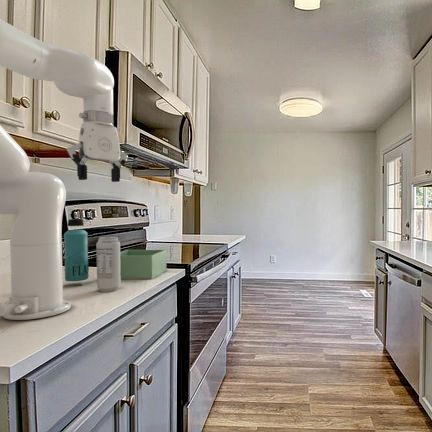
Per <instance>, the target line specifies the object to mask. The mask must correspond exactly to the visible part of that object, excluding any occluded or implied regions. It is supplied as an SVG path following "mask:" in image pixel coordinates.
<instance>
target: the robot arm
mask: <svg viewBox="0 0 432 432" xmlns="http://www.w3.org/2000/svg"><path fill="white" fill-rule="evenodd" d="M0 67H1V68H5V69H7V70H9V71H12V72H14V73H17V74H19V75H21V76H25V77H27V78H29V79H32V80H39V81H46V82H53V83H54V86H55V87H56V88H57V90H58V91H60V92H61V93H63V94H65V95H67V96H70V97H75V98H79V99H82V103H83V104H82V105H83V112H79V114H78V117H79V118H80V119H82V123H81V125H80V129H79V135H78V143H76V144H73V145H70V146H67V147H66V151H67V153H68V155H69V157H70V159H71V160H72V161H73V162H74V164H75V166H76V173H77V178H78V180H79V181H86V180H88V166H87V164H86V163H87V162H88V161H97V162H106V163H107V162H108V163H109V164H110V165H111V167H112V168H110V179H111V183H120V182H121V181H120V180H121V169H122V168H123V167H124V165H125V164H126V161H127V160H128V157H129V155H128V153H125V152H124V151H123V150H121V144H120V138H119V133H118V129H117V127H116V126H114V86H115V79H114V76H113V73H112V72H111V70H110V69H109V68H108V67H107V65H105V64H104V63H103V62H101V61H100V60H98V59H96V58H95V57H93V56H90V55H88V54H86V53H83V52H80V51H77V50H74V49H70V48H66V47H63V46H60V45H56V44H52V43H48V42H45V41H42V40H40V39H38V38H36V37H34V36H33V35H31V34H29V33H27V32H25V31H23V30H21V29H20V28H18V27H16V26H14V25H12V24H10V23H9V22H7V21H4V20H3V19H1V18H0ZM77 150H78V154H77V152H76V151H77ZM30 167H31V162H30V159H29V156H28V155H27V153H26V151H25V150H24V149H23V147H21V146H20V144H19V143H18V142H17V141H16V140H15V139H14V138H13V137H12V135H10V133H8V131H7V130H6V129H5V128H4V127H3V126H2V125H1V124H0V215H18V216H17V218H16V219H15V221H14V223H13V225H12V227H11V230H10V235H9V249H10V287H11V288H10V289H11V296H9V298H8V300H9V301H8V303H7V304H3V305H1V306H0V317H3V318H4V319H7V320H12V321H25V320H26V321H27V320H36V319H42V318H48V317H52V316H56V315H60V314H63V313H66V312H67V311H68V310H70V309H71V307H72V302H70V300H66V299H64V285H63V283H64V281H63V279H64V277H63V238H62V237H63V235H62V231H63V230H62V229H63V228H62V227H63V224H62V223H63V216H64V215H63V214H64V209H65V205H66V201H67V200H66V199H67V190H66V186H65V184H64V182H63V181H62V180H61V179H60V178H59V177H57V176H56V175H54V174H52V173H50V172H49V173H48V172H44V171H43V172H42V171H30Z"/></svg>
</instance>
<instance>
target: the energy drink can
mask: <svg viewBox="0 0 432 432" xmlns="http://www.w3.org/2000/svg"><path fill="white" fill-rule="evenodd" d="M95 244H96V248H95V249H96V288H97V289H98V290H99V292H106V293H108V292H115V291H118V290H119V288H120V287H121V283H122V281H121V280H122V279H121V271H120V252H121V242H120V240H119V237H118V236H100V237H98V241H97V242H96V243H95Z"/></svg>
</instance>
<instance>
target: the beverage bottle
mask: <svg viewBox="0 0 432 432" xmlns="http://www.w3.org/2000/svg"><path fill="white" fill-rule="evenodd" d="M67 227H84V219H83V218H71V219H68V220H67ZM88 235H89V234H88V232H87V231H86V230H84V229H68V230H67V231H66V232H64V234H63V239H64V242H63V244H64V280H65V282H70V283H71V282H82V281H86V280H88V279H89V272H90V270H89V269H90V267H89V240H88Z"/></svg>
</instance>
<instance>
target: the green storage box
mask: <svg viewBox="0 0 432 432" xmlns="http://www.w3.org/2000/svg"><path fill="white" fill-rule="evenodd" d="M167 266H168V265H167V249H125V250H123V251H120V271H121V280H152V279H154V278H157V276H159V275H161V274H163V273H164V272H166V271H167Z"/></svg>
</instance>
